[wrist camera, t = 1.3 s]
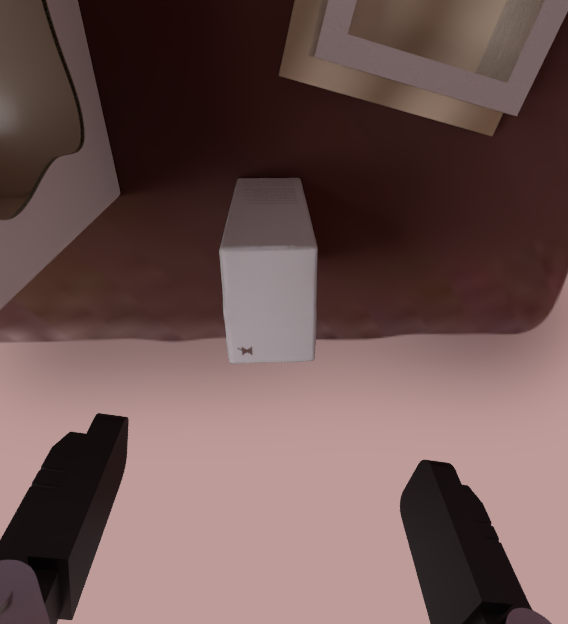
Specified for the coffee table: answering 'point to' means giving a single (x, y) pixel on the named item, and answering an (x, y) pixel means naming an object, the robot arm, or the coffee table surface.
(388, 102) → the birch board
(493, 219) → the coffee table surface
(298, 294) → the skincare box
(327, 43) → the duct collar
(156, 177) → the coffee table surface
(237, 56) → the coffee table surface
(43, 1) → the gable box
